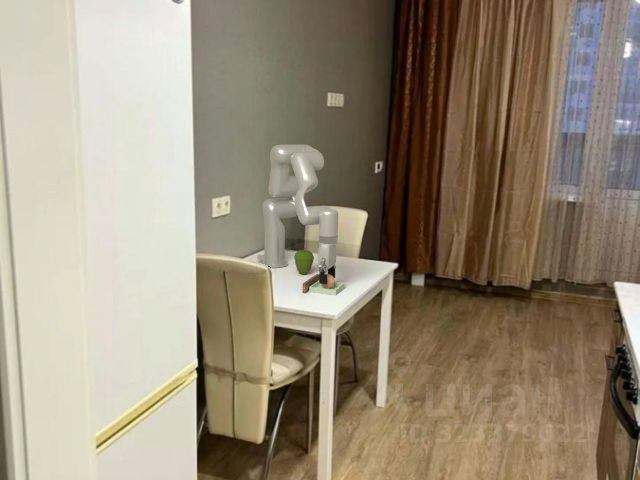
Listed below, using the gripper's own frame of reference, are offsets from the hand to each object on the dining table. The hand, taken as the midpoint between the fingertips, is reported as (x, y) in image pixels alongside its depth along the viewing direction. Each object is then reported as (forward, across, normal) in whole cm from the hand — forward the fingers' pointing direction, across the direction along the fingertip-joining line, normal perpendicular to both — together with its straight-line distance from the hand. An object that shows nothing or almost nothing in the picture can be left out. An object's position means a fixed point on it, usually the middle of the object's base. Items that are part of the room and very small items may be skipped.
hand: (327, 280), depth 246 cm
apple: (+4, -19, -18) cm, 26 cm away
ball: (+3, 0, 0) cm, 3 cm away
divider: (+4, 0, -7) cm, 8 cm away
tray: (+4, 0, 0) cm, 4 cm away
